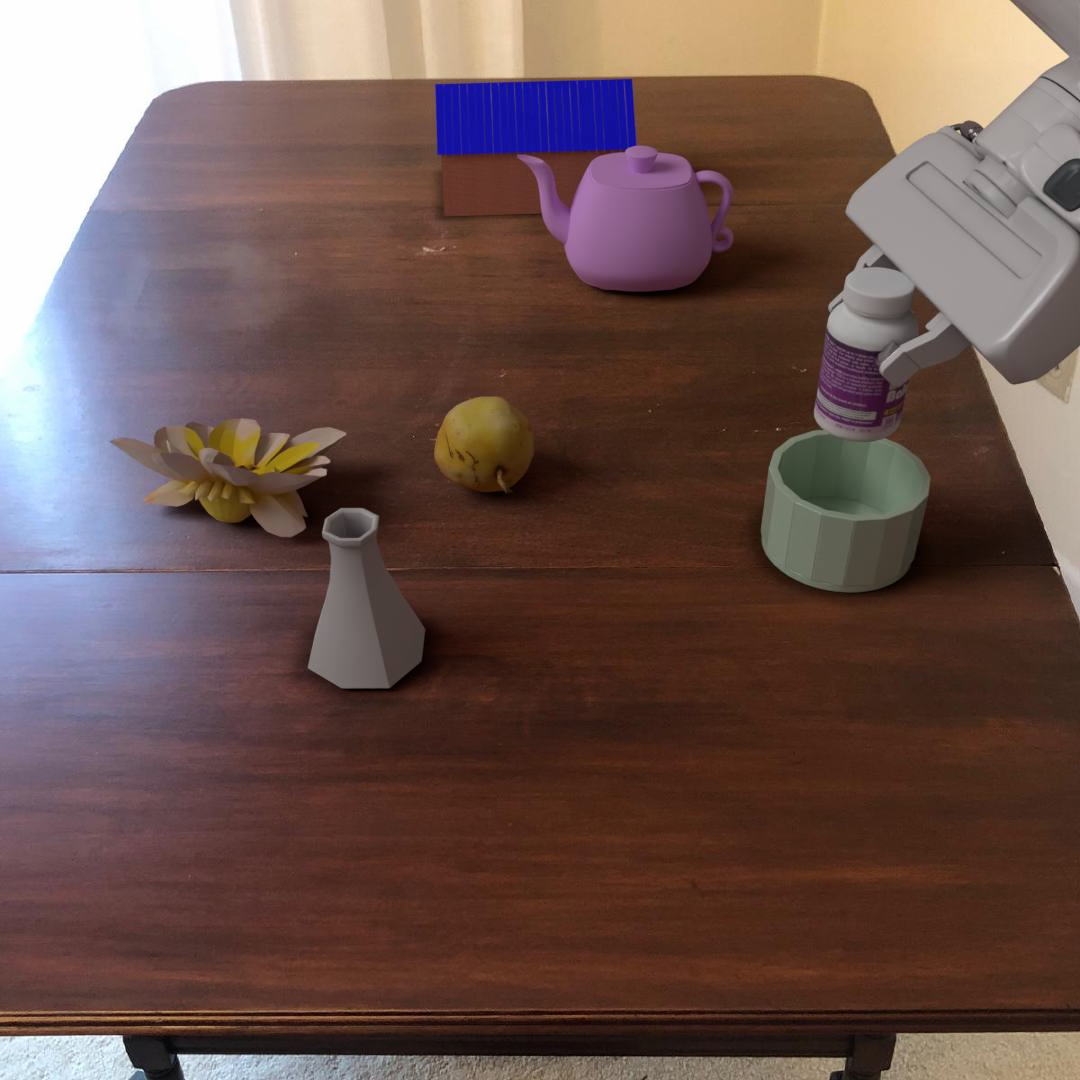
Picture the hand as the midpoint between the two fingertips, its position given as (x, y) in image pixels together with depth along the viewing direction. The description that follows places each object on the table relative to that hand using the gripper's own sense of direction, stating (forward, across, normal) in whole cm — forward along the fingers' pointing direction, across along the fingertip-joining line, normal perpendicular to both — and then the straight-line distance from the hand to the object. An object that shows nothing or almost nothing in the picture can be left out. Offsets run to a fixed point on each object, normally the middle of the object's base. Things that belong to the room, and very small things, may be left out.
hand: (859, 347), depth 73 cm
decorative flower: (+38, -13, -16) cm, 43 cm away
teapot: (+13, -44, +9) cm, 46 cm away
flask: (+33, +4, -11) cm, 35 cm away
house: (+16, -64, +6) cm, 66 cm away
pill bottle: (+4, 0, +4) cm, 6 cm away
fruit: (+26, -13, -4) cm, 29 cm away
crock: (+10, 0, +12) cm, 16 cm away
